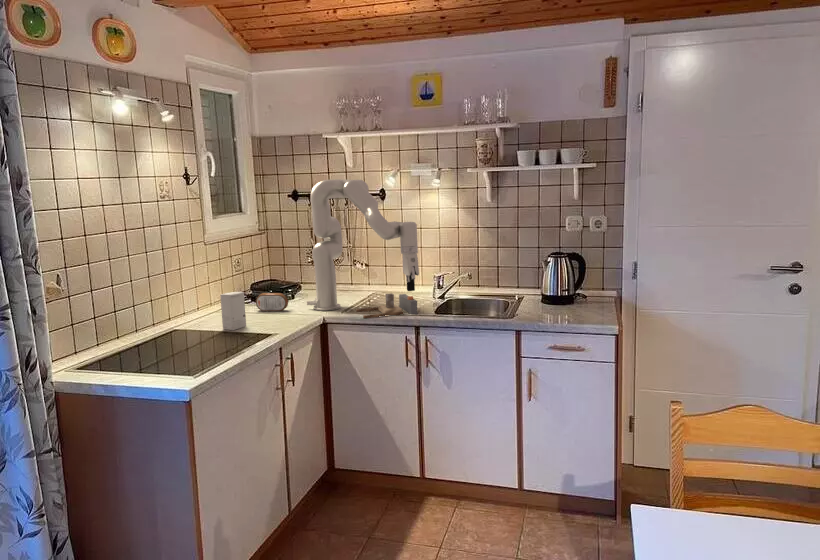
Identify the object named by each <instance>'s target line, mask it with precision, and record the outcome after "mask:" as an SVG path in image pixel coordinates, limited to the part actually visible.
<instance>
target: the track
mask: <svg viewBox="0 0 820 560" xmlns="http://www.w3.org/2000/svg"><path fill="white" fill-rule="evenodd" d="M355 310H356V311H355V312H356V313H362V311H364V312H371V311H372V312H373V311H374V310H375V311H379V309H378V306H377V307H376V306H375V307H366V308H365V307H364V308H356V309H355ZM375 311H374V312H375ZM400 314H403V315H404V311H402V312H394V313H373V314H364V315H362V316H363V319H374V318H380V317H379V316H385V315H396V316H401V315H400ZM385 317H386V316H385Z"/></svg>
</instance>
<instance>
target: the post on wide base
mask: <svg viewBox="0 0 820 560" xmlns="http://www.w3.org/2000/svg"><path fill="white" fill-rule="evenodd" d="M377 307H378V309H379V310H378V311H380V312H381V314H383V313H394V312H403V309H402V308H400V307H399V305H397V304H395V295H394V293H385V304H384V305H378V306H377Z"/></svg>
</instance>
